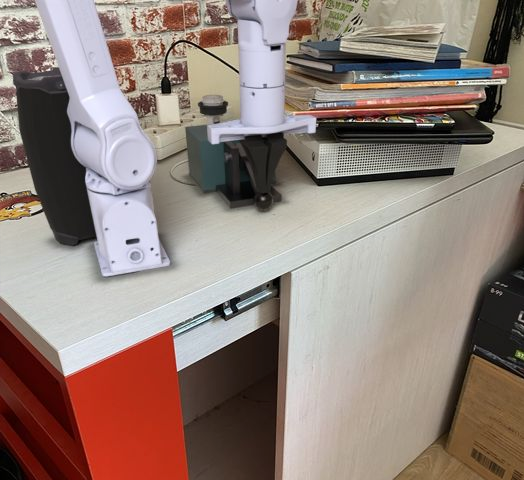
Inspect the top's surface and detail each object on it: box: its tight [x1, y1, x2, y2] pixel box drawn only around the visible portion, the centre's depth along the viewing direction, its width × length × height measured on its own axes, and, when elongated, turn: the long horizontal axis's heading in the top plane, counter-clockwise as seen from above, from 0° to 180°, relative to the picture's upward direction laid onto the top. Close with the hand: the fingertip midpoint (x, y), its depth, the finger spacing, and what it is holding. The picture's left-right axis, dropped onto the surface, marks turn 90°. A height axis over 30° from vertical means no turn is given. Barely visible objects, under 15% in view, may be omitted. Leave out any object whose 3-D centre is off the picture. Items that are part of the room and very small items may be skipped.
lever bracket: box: [215, 141, 282, 210], centre depth 81 cm, size 10×8×8 cm
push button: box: [197, 94, 229, 125], centre depth 97 cm, size 7×5×10 cm
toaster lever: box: [235, 143, 274, 212], centre depth 78 cm, size 12×3×3 cm, turn 21°
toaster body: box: [184, 124, 277, 195], centre depth 86 cm, size 9×12×8 cm
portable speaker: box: [12, 66, 97, 247], centre depth 66 cm, size 9×9×20 cm
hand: (263, 190), depth 75 cm, fingers closed, pressing on toaster lever
